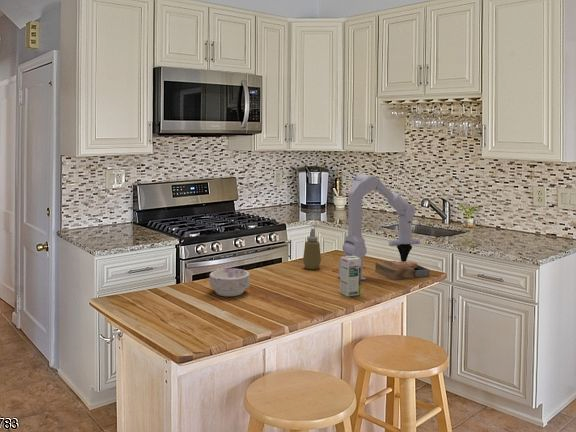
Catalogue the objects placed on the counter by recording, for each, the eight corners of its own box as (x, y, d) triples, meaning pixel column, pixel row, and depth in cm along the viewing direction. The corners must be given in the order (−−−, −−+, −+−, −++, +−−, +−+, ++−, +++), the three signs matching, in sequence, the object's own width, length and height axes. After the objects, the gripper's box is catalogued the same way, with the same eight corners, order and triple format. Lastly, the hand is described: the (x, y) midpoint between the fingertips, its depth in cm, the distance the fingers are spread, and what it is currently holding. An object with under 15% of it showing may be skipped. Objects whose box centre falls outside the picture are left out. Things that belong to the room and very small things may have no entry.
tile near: (398, 268, 243) (398, 264, 242) (392, 266, 247) (392, 262, 247) (408, 267, 244) (408, 263, 244) (402, 265, 249) (402, 261, 249)
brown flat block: (393, 280, 240) (393, 270, 239) (375, 271, 254) (375, 262, 253) (413, 277, 244) (414, 268, 243) (394, 269, 257) (395, 260, 257)
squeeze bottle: (324, 267, 259) (324, 228, 256) (315, 271, 252) (315, 231, 249) (308, 265, 263) (309, 226, 261) (299, 268, 257) (300, 229, 254)
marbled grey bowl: (204, 297, 213) (204, 277, 211) (216, 286, 227) (216, 267, 226) (244, 300, 210) (244, 279, 209) (253, 288, 225) (253, 269, 224)
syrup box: (347, 297, 216) (348, 259, 213) (339, 292, 221) (340, 256, 219) (360, 295, 218) (361, 258, 216) (352, 291, 223) (353, 254, 221)
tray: (414, 277, 244) (414, 271, 243) (395, 269, 258) (395, 262, 257) (429, 276, 246) (429, 269, 246) (409, 268, 260) (410, 261, 260)
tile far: (416, 263, 253) (417, 266, 254) (410, 260, 258) (411, 264, 258) (407, 267, 252) (408, 271, 252) (401, 265, 256) (402, 268, 257)
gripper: (395, 233, 245) (394, 264, 247) (424, 231, 250) (422, 261, 252) (386, 230, 251) (385, 260, 253) (415, 228, 256) (413, 258, 258)
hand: (403, 261), depth 253 cm, fingers closed
